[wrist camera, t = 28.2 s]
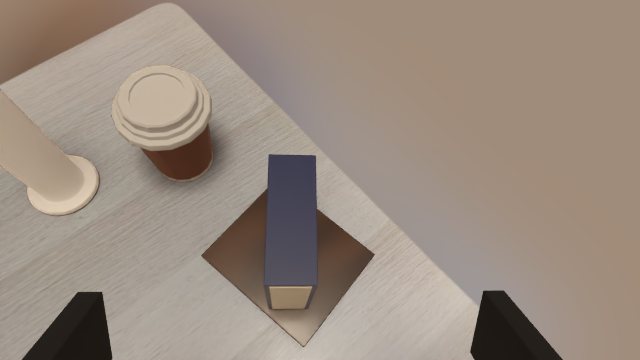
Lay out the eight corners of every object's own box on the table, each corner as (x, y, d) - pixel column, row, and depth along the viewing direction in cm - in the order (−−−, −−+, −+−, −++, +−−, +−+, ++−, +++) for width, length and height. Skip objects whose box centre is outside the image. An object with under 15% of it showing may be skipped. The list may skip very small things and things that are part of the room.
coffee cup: (129, 151, 47) (84, 85, 36) (197, 112, 50) (174, 41, 39) (171, 208, 44) (136, 155, 33) (240, 164, 47) (228, 102, 36)
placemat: (373, 255, 44) (374, 254, 43) (303, 347, 39) (303, 347, 39) (277, 179, 47) (277, 177, 46) (201, 256, 42) (201, 255, 42)
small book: (307, 206, 45) (315, 155, 34) (308, 309, 40) (317, 286, 30) (271, 206, 45) (268, 154, 34) (268, 309, 40) (263, 287, 29)
